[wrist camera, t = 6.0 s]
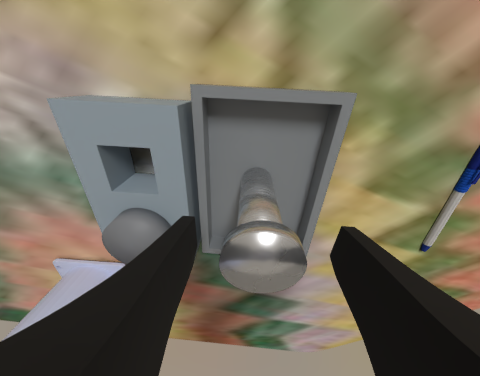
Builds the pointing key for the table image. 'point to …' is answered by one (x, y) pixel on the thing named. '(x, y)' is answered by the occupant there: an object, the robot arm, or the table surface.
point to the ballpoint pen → (454, 199)
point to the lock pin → (261, 241)
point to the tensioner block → (122, 169)
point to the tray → (265, 152)
